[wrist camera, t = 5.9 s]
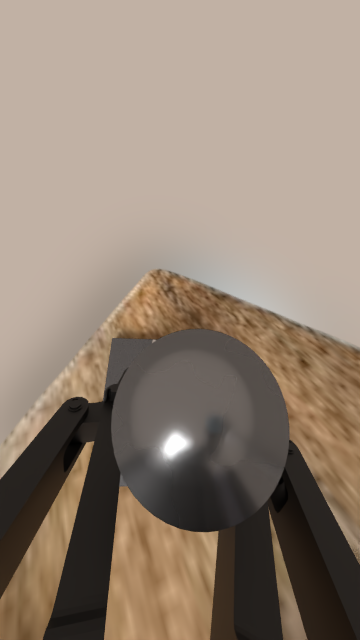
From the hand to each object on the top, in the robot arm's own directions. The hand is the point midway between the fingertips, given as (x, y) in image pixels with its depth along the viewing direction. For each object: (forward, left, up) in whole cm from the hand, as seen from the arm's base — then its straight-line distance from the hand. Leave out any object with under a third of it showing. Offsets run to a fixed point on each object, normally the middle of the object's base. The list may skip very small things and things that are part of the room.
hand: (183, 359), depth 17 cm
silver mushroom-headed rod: (+1, +4, -11) cm, 12 cm away
